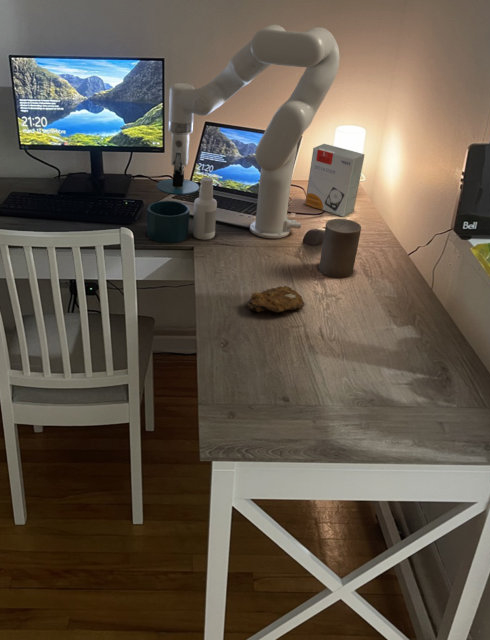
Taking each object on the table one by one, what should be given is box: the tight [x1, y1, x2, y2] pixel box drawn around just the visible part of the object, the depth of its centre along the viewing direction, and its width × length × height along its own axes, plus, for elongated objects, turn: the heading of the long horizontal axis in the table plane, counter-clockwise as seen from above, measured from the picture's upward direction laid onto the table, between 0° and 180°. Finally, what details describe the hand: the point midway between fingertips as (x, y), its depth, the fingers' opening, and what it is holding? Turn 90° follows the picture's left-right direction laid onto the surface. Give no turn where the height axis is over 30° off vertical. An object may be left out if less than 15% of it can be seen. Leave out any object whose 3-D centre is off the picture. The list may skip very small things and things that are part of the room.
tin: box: [146, 200, 191, 244], centre depth 207 cm, size 13×13×8 cm
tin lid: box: [156, 172, 200, 196], centre depth 218 cm, size 14×14×6 cm
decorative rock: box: [246, 285, 305, 314], centre depth 172 cm, size 11×4×15 cm
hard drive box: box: [304, 143, 366, 218], centre depth 227 cm, size 16×8×20 cm, turn 49°
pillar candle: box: [318, 218, 362, 278], centre depth 189 cm, size 10×10×15 cm
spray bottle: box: [192, 176, 218, 240], centre depth 205 cm, size 7×7×18 cm
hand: (178, 183), depth 218 cm, fingers closed on tin lid, 3 cm apart
